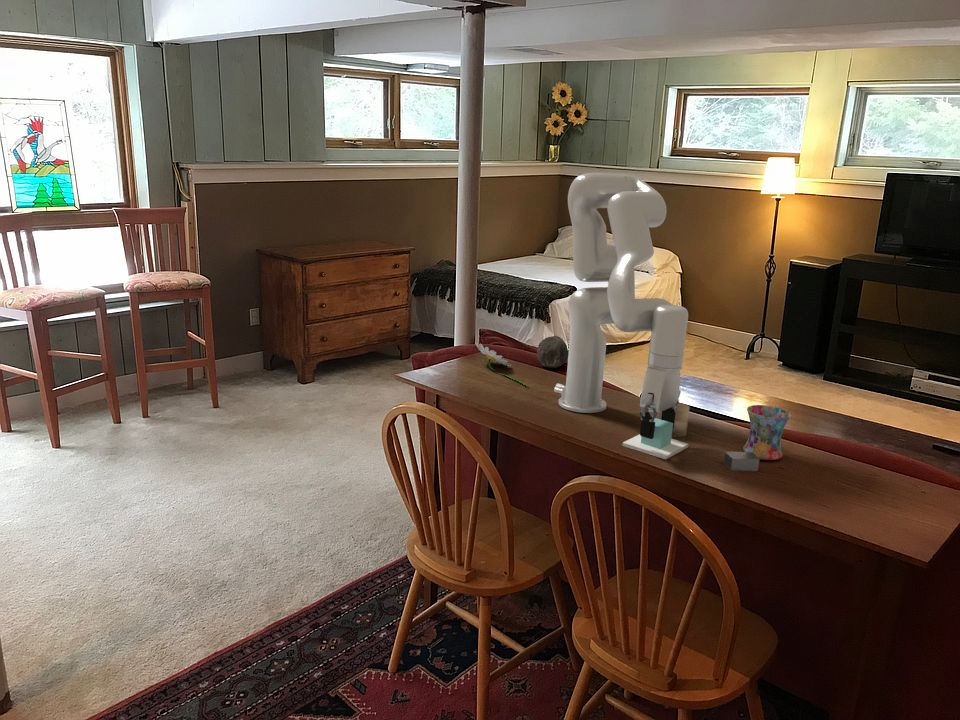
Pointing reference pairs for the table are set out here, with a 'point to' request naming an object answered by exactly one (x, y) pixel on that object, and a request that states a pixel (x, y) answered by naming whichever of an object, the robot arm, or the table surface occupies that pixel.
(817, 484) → the table surface
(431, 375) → the table surface
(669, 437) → the block
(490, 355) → the flower
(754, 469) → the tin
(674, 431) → the cork cylinder
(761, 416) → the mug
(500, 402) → the table surface
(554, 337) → the rock
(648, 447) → the coaster
